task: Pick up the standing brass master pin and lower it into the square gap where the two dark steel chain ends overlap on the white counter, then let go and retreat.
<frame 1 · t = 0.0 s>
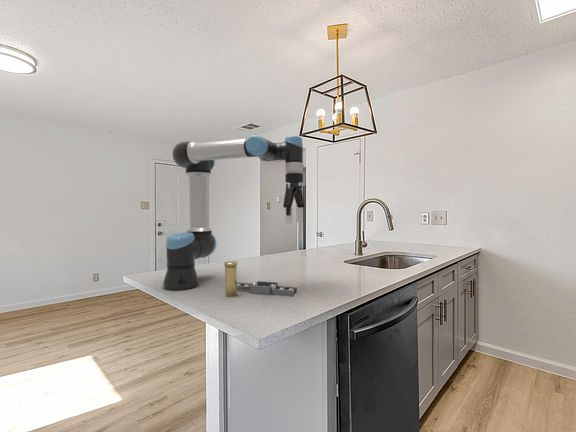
hand: (294, 222, 131), 28 cm above the table, fingers open, 13 cm apart
chain joint: (263, 291, 126), on the table
master pin: (231, 295, 121), on the table
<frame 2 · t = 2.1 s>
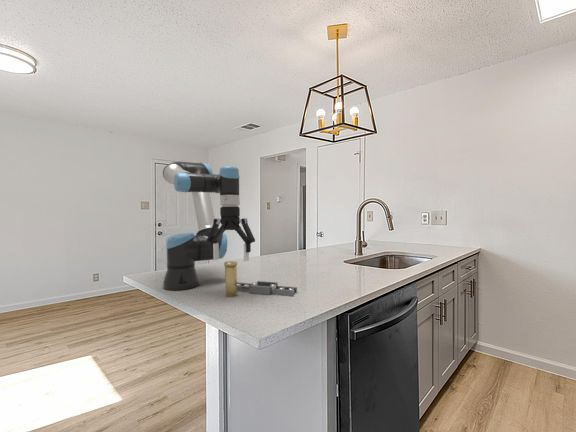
hand: (231, 260, 120), 14 cm above the table, fingers open, 13 cm apart
nothing on the table moved.
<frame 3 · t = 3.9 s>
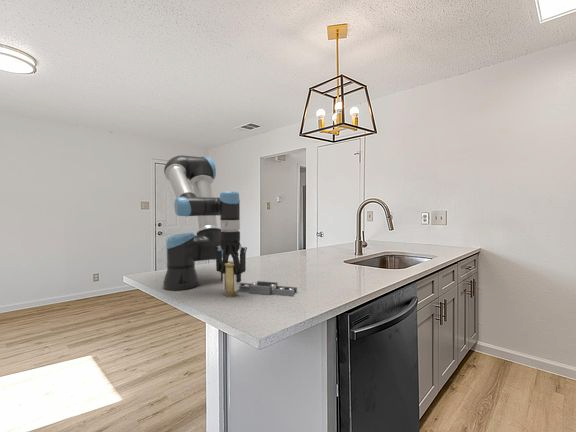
hand: (231, 289, 121), 2 cm above the table, fingers closed on master pin, 4 cm apart
master pin: (231, 295, 121), on the table, touching gripper
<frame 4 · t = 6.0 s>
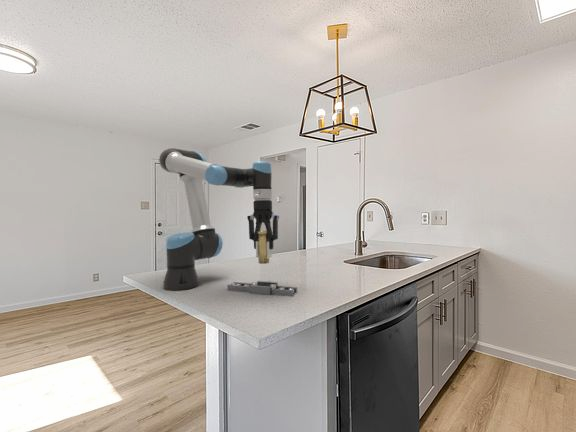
hand: (263, 256, 126), 14 cm above the table, fingers closed on master pin, 4 cm apart
master pin: (263, 262, 125), point 12 cm above the table, touching gripper
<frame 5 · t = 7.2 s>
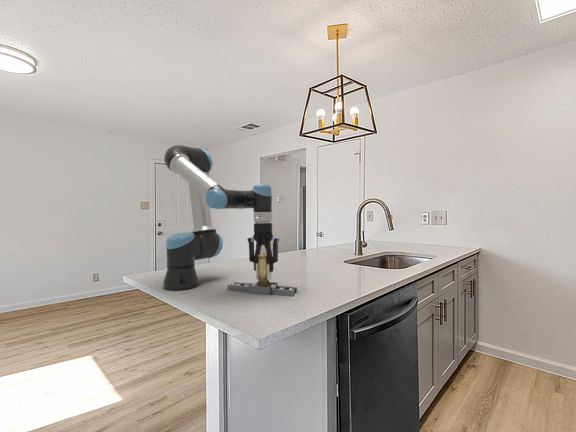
hand: (263, 279, 126), 5 cm above the table, fingers closed on master pin, 4 cm apart
master pin: (263, 285, 126), point 3 cm above the table, touching gripper
when the fingers open (4 cm above the table, at t = 8.3 s): master pin drops 1 cm, resting in chain joint.
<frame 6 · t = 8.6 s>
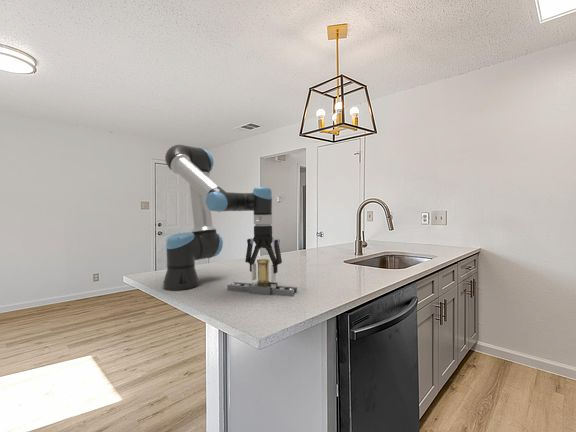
hand: (263, 280, 126), 5 cm above the table, fingers open, 8 cm apart
master pin: (263, 291, 126), resting in chain joint
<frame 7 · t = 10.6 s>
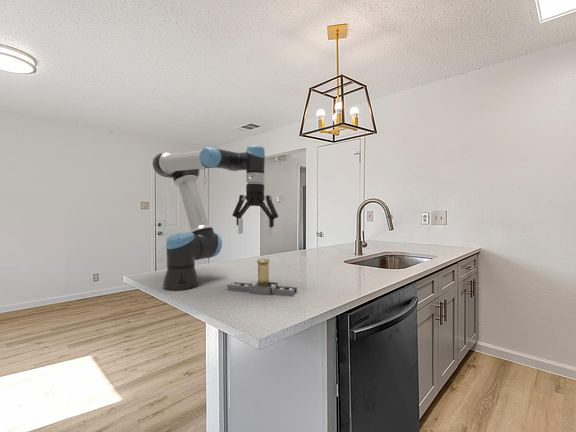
hand: (254, 234, 129), 23 cm above the table, fingers open, 13 cm apart
nothing on the table moved.
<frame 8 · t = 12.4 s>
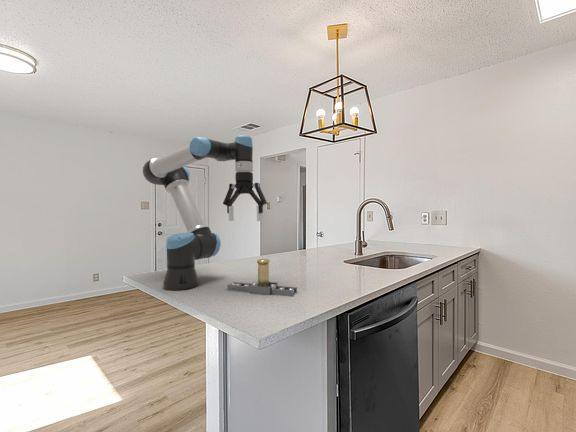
hand: (244, 221, 134), 29 cm above the table, fingers open, 13 cm apart
nothing on the table moved.
at the end: master pin 0.1 cm off-centre on the chain joint, point 0.0 cm above the chain joint's base; master pin tilted 0°; the gripper is holding nothing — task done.
